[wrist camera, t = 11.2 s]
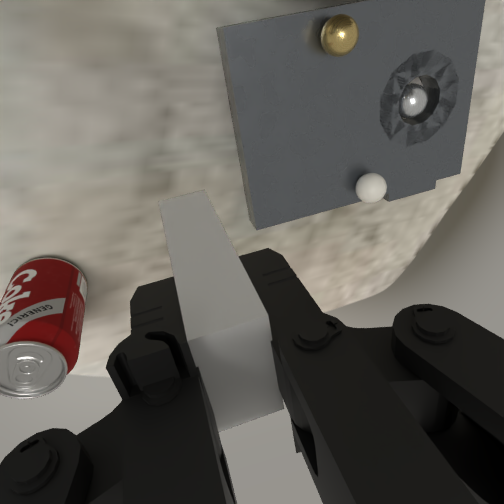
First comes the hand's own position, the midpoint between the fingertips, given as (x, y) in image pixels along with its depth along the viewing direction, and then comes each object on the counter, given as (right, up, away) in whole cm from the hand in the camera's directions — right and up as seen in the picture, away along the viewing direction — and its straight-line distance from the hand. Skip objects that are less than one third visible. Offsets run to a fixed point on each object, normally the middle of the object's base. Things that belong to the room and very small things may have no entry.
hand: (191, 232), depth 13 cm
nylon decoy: (+14, +6, +26) cm, 30 cm away
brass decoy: (+9, +17, +18) cm, 26 cm away
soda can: (-18, -4, +26) cm, 32 cm away
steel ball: (+18, +14, +25) cm, 34 cm away
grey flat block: (+12, +14, +25) cm, 31 cm away
